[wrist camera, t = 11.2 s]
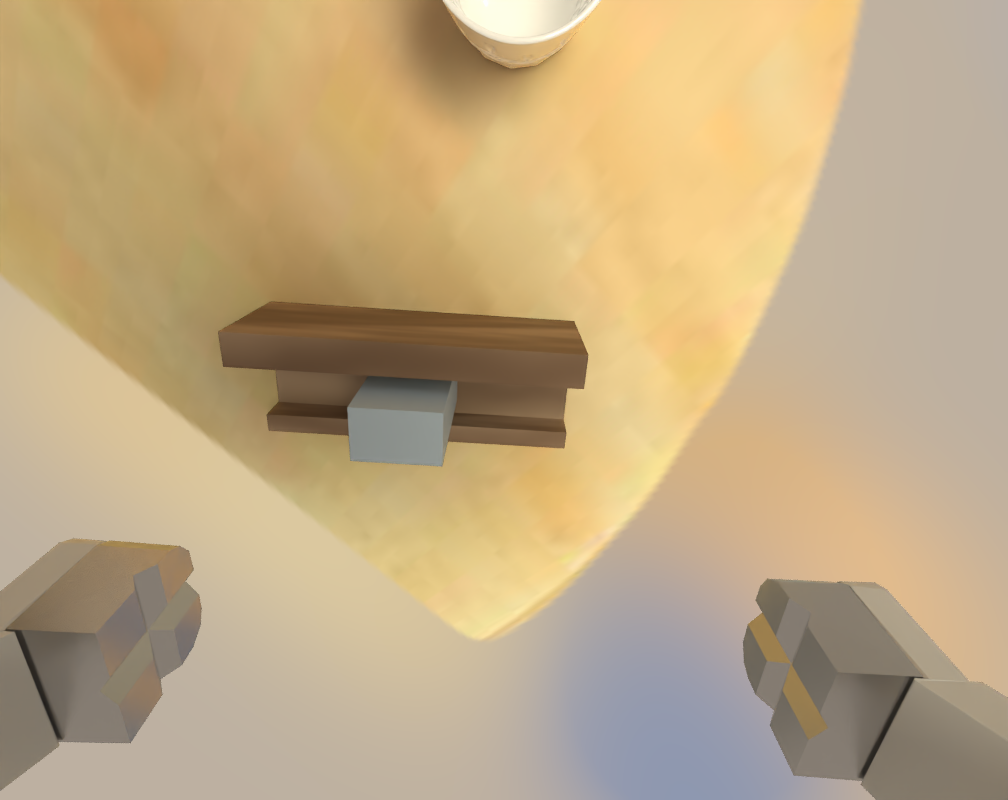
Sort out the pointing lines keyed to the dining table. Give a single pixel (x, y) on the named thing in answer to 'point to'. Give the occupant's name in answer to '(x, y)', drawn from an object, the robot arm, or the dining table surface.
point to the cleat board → (413, 366)
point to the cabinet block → (401, 420)
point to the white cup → (519, 27)
